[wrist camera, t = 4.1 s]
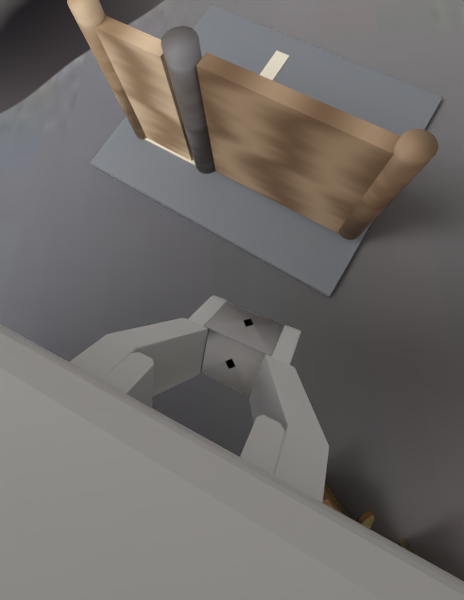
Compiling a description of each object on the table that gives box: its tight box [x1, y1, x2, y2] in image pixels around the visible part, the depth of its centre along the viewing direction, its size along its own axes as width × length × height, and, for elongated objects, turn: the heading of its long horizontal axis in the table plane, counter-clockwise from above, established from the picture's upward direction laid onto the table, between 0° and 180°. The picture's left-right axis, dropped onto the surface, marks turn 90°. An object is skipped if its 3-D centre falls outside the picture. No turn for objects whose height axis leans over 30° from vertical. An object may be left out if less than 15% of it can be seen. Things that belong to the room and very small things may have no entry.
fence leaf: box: [196, 52, 438, 240], centre depth 21 cm, size 15×2×10 cm, turn 58°
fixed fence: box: [67, 0, 216, 174], centre depth 23 cm, size 10×2×11 cm, turn 58°
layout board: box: [90, 5, 443, 297], centre depth 28 cm, size 24×28×1 cm
